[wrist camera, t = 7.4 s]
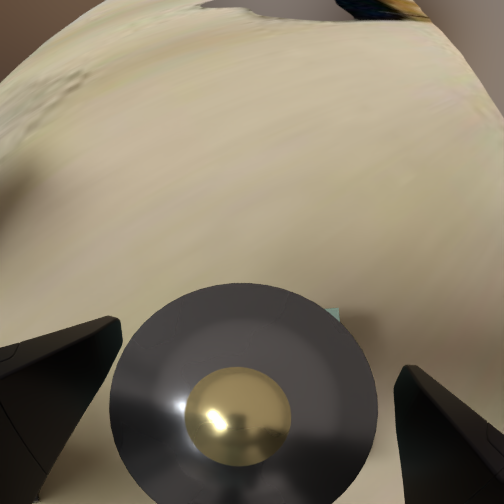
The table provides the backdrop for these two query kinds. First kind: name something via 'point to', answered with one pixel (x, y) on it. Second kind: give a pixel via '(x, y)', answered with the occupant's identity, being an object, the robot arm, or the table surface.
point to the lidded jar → (243, 400)
